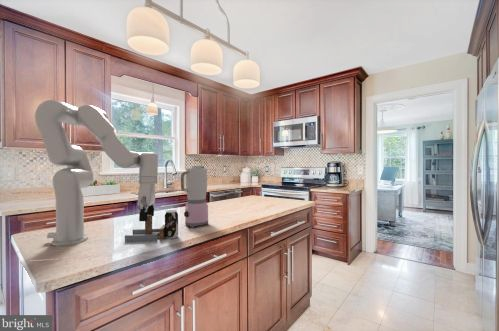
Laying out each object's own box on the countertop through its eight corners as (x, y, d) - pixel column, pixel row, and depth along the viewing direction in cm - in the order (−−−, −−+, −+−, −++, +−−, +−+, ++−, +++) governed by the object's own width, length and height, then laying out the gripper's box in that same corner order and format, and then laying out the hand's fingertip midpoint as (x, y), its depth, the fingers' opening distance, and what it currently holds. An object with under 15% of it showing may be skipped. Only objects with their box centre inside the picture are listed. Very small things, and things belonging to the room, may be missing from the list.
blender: (200, 220, 138) (199, 165, 137) (213, 224, 129) (212, 165, 129) (175, 226, 126) (174, 166, 126) (187, 230, 118) (187, 166, 117)
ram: (143, 240, 102) (143, 217, 102) (148, 235, 109) (148, 213, 109) (163, 239, 103) (162, 216, 103) (166, 234, 110) (166, 213, 110)
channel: (124, 242, 100) (124, 235, 100) (133, 235, 109) (133, 229, 109) (156, 241, 101) (156, 234, 101) (162, 234, 111) (162, 228, 111)
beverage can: (180, 237, 107) (180, 210, 107) (168, 240, 103) (168, 212, 103) (174, 234, 111) (173, 209, 111) (162, 237, 107) (162, 211, 107)
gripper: (145, 178, 114) (144, 214, 114) (132, 181, 96) (130, 223, 96) (161, 179, 114) (160, 214, 115) (151, 181, 97) (149, 223, 97)
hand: (146, 218), depth 105 cm, fingers open, 9 cm apart
